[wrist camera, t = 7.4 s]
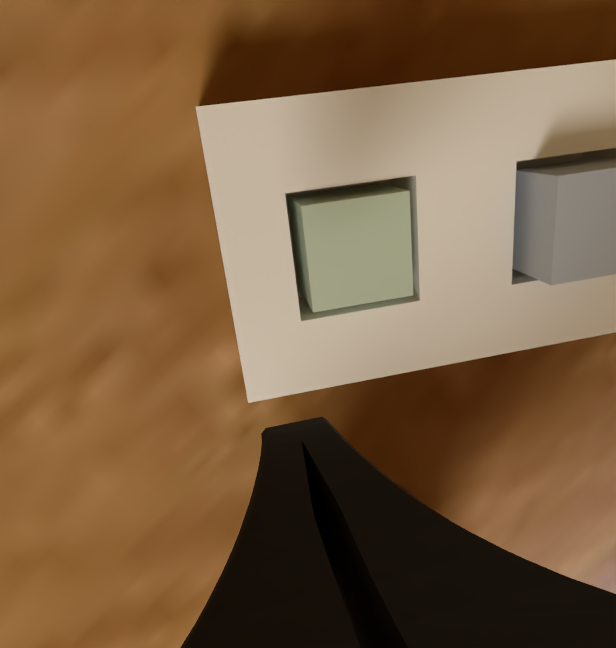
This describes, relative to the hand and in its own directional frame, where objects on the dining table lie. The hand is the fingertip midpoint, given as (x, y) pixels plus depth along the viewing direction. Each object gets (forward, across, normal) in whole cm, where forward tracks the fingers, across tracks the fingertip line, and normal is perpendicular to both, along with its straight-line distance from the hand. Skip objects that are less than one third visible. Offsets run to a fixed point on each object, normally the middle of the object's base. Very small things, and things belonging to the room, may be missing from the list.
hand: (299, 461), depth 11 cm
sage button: (+10, -4, -2) cm, 11 cm away
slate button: (+9, -12, -2) cm, 15 cm away
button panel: (+10, -12, -2) cm, 16 cm away
